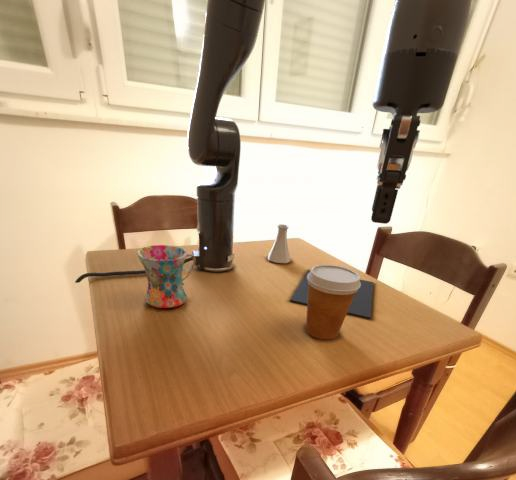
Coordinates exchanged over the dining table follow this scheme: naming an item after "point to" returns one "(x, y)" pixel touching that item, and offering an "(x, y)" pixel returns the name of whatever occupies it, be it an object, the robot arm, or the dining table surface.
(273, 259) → the flask
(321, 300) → the disposable coffee cup
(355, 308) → the mat
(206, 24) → the robot arm
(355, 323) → the dining table surface
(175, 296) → the mug
